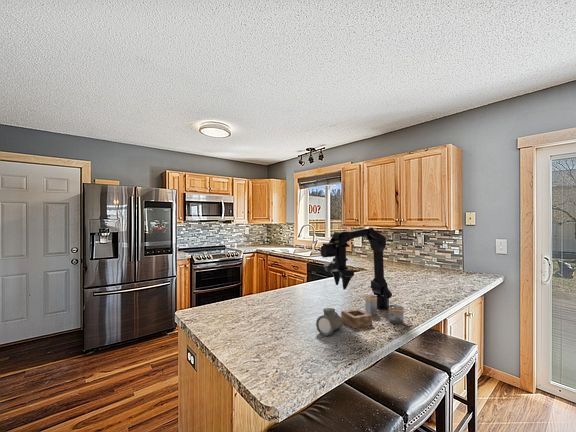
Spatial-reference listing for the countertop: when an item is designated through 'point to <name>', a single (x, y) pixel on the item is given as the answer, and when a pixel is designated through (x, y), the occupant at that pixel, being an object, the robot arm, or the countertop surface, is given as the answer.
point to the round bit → (396, 314)
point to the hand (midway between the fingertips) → (340, 287)
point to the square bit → (371, 304)
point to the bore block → (356, 318)
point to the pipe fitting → (328, 322)
